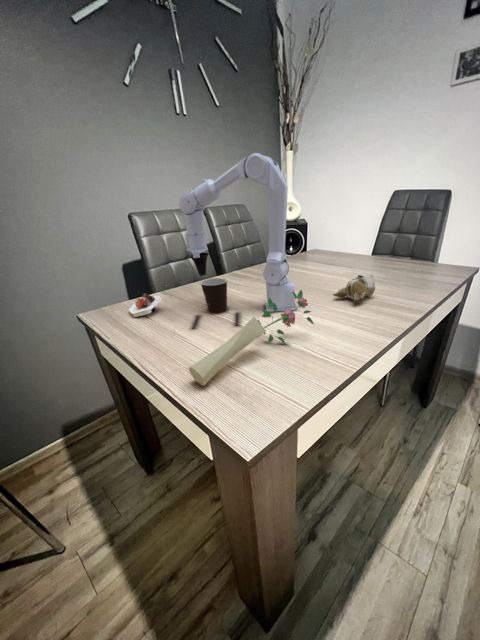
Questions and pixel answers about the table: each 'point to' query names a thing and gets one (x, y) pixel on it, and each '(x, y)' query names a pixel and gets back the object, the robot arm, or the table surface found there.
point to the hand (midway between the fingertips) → (202, 274)
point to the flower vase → (242, 341)
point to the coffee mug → (215, 294)
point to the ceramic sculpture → (358, 288)
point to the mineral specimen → (144, 305)
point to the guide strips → (198, 318)
